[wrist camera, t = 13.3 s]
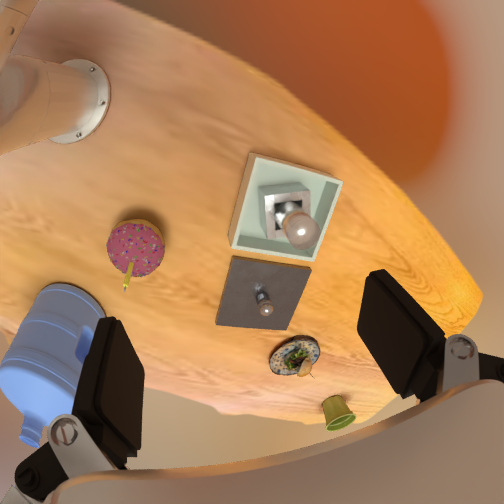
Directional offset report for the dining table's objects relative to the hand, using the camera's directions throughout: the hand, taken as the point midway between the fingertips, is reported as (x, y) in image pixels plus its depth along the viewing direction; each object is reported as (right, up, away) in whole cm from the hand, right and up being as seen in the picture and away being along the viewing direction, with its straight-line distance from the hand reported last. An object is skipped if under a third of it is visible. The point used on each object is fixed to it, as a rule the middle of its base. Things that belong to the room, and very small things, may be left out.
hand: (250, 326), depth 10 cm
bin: (+4, +10, +34) cm, 35 cm away
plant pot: (+24, -41, +66) cm, 81 cm away
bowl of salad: (+9, -20, +51) cm, 56 cm away
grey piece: (+4, +10, +33) cm, 35 cm away
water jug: (-34, -9, +36) cm, 51 cm away
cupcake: (-17, +5, +32) cm, 37 cm away
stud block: (+2, -5, +41) cm, 42 cm away
